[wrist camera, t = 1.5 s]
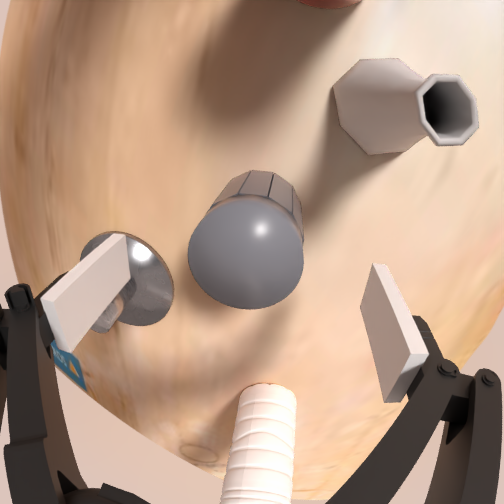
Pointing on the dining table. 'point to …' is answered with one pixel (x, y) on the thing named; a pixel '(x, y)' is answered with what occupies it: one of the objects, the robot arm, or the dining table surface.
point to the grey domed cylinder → (250, 242)
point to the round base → (136, 286)
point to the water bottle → (262, 447)
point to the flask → (403, 107)
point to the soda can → (329, 3)
